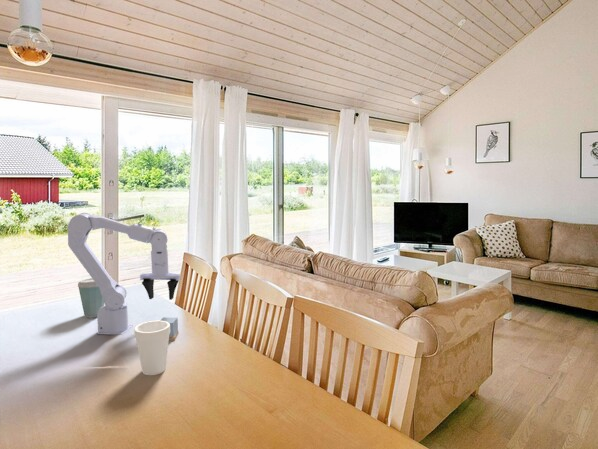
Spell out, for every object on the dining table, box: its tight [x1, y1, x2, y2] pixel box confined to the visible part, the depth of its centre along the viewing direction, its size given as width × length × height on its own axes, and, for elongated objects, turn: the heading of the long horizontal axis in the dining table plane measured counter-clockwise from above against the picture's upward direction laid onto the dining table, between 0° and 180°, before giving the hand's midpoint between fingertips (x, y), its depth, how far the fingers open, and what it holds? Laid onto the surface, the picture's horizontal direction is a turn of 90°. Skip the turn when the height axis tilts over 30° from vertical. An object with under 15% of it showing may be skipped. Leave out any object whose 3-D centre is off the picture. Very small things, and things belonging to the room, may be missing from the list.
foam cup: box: [133, 320, 170, 376], centre depth 110 cm, size 10×9×13 cm
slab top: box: [169, 331, 179, 342], centre depth 133 cm, size 6×6×1 cm
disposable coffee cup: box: [77, 277, 105, 319], centre depth 155 cm, size 11×11×15 cm
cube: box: [159, 317, 179, 337], centre depth 133 cm, size 5×5×5 cm
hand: (161, 298), depth 144 cm, fingers open, 7 cm apart
